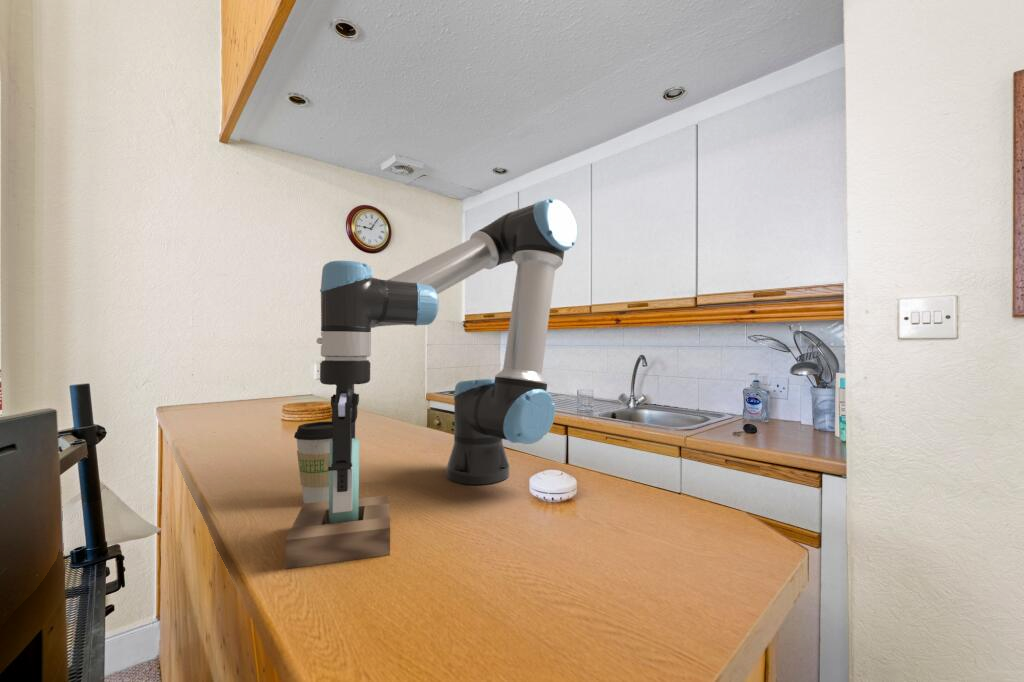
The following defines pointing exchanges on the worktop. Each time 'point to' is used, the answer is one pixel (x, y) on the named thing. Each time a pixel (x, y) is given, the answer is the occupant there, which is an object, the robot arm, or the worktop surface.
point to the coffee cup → (314, 459)
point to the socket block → (338, 534)
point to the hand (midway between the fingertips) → (344, 503)
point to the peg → (353, 514)
